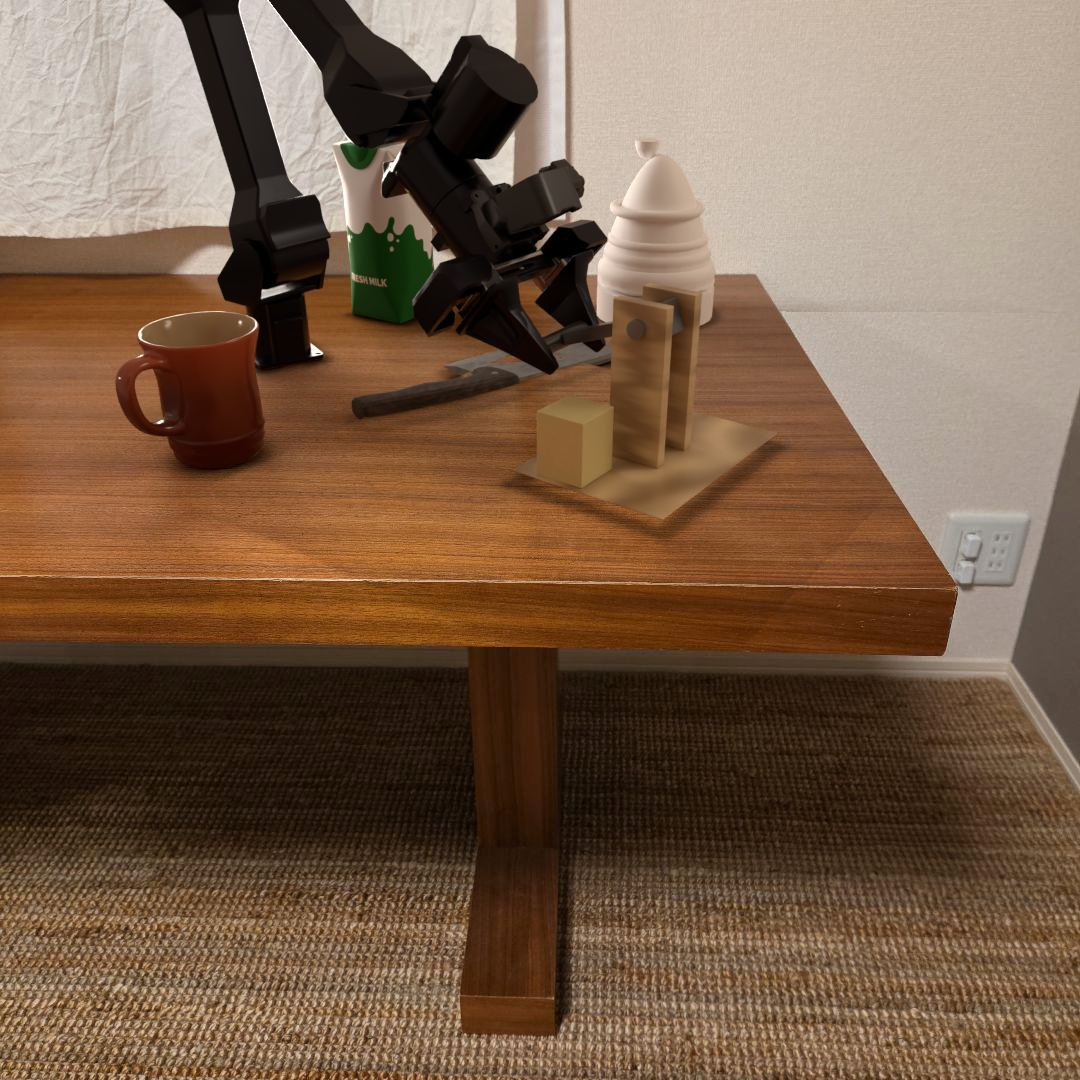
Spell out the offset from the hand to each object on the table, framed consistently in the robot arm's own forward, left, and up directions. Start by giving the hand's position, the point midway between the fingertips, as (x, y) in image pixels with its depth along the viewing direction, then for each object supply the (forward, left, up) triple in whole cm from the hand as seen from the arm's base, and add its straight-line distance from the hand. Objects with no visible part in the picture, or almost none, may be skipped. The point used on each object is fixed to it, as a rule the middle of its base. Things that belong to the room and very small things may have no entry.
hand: (578, 359), depth 78 cm
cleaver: (-16, +1, -7) cm, 18 cm away
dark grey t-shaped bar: (+3, +1, +2) cm, 4 cm away
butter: (+6, -4, -6) cm, 10 cm away
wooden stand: (+6, +3, -7) cm, 10 cm away
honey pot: (-25, +27, -7) cm, 37 cm away
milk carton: (-41, +3, -7) cm, 42 cm away
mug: (-13, -27, -7) cm, 30 cm away
